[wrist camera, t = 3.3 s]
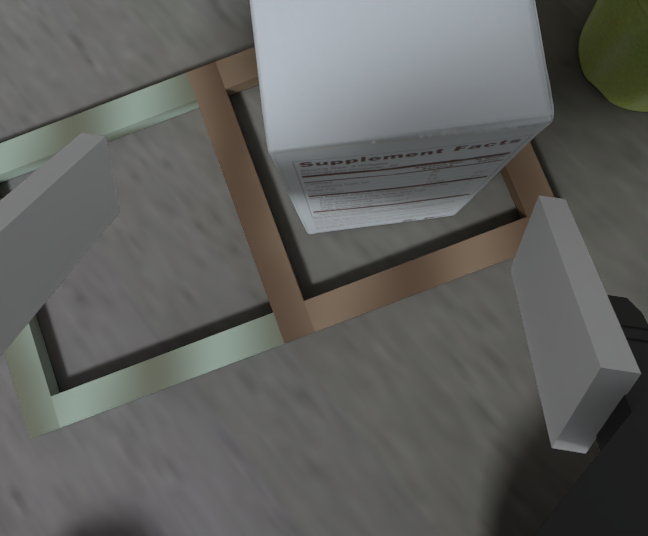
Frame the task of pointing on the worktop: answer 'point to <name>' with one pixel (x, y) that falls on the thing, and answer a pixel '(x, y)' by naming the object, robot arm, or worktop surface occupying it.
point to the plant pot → (617, 52)
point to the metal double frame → (263, 238)
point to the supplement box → (396, 102)
